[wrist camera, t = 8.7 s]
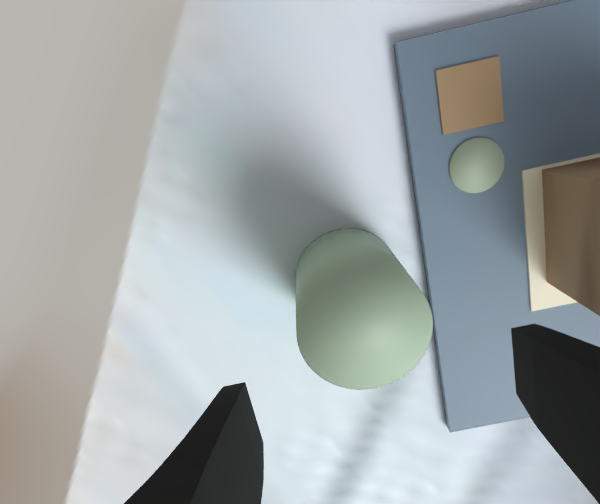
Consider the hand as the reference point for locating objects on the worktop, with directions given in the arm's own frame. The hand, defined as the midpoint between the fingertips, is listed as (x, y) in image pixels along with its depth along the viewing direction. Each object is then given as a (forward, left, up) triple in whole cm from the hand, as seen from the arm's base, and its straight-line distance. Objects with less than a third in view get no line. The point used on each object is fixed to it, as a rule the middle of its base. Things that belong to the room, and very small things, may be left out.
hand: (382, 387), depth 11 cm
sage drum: (0, 0, -8) cm, 8 cm away
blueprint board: (-11, 0, -8) cm, 14 cm away
